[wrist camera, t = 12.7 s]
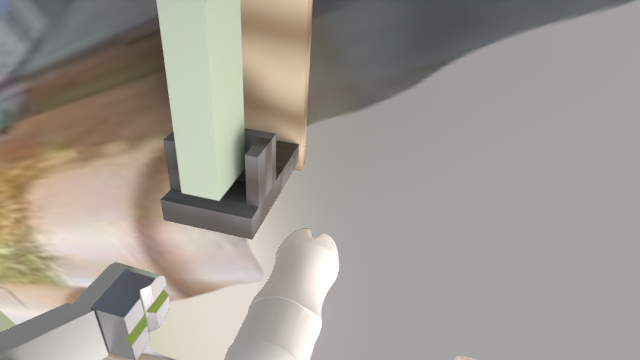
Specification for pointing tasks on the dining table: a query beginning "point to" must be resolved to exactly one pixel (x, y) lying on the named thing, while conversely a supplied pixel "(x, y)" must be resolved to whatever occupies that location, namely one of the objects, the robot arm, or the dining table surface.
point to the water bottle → (289, 301)
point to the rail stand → (258, 121)
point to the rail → (205, 91)
